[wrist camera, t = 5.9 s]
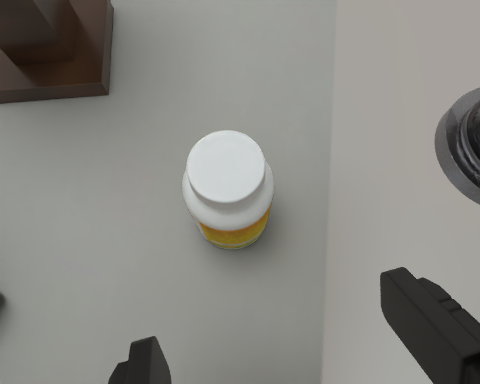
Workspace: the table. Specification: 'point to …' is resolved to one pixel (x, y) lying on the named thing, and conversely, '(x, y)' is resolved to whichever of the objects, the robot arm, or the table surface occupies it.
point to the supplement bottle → (228, 189)
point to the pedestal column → (54, 49)
